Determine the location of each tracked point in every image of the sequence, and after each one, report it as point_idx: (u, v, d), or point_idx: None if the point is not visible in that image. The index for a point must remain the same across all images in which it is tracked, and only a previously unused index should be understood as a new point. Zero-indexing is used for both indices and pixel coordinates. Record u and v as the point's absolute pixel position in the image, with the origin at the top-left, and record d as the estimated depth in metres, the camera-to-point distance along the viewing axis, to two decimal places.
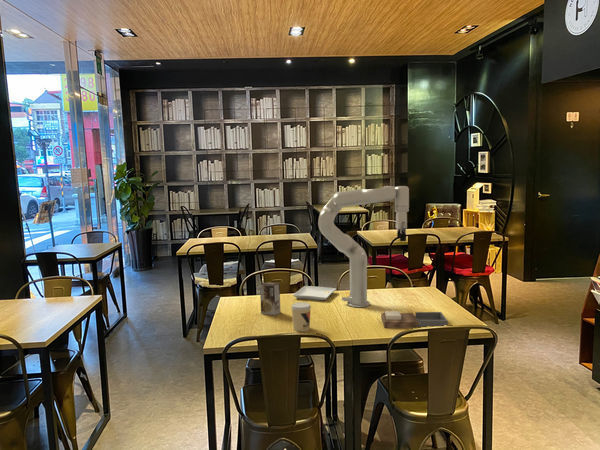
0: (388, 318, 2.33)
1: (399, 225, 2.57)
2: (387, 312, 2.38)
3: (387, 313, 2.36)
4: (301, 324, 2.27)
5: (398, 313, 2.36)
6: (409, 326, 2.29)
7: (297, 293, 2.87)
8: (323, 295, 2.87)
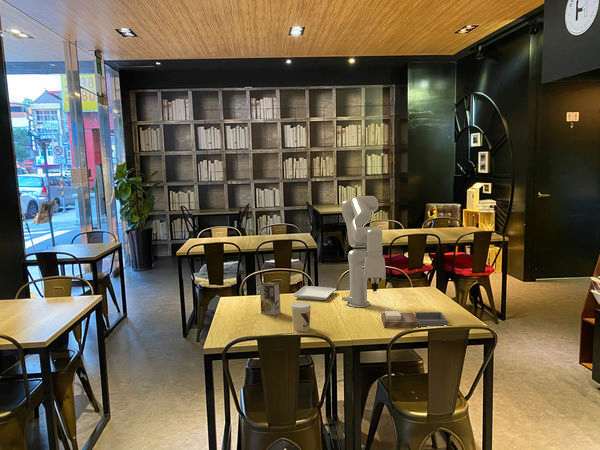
0: (388, 318, 2.33)
1: (385, 272, 2.31)
2: (387, 312, 2.38)
3: (387, 313, 2.36)
4: (301, 324, 2.27)
5: (398, 313, 2.36)
6: (409, 326, 2.29)
7: (297, 293, 2.87)
8: (323, 295, 2.87)
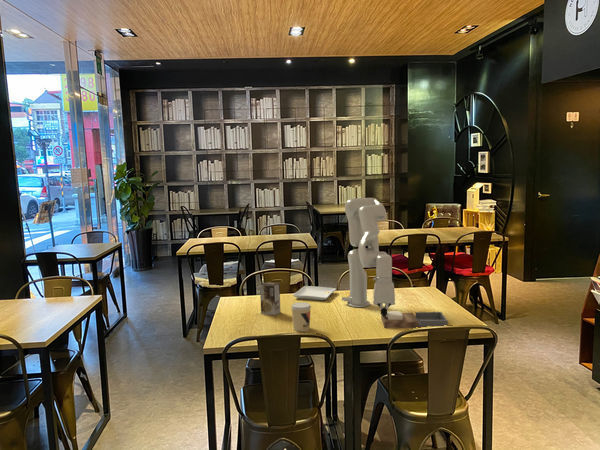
0: (390, 318, 2.33)
1: (394, 297, 2.33)
2: (388, 312, 2.37)
3: (388, 313, 2.36)
4: (301, 324, 2.27)
5: (399, 312, 2.36)
6: (409, 326, 2.29)
7: (297, 293, 2.87)
8: (323, 295, 2.87)
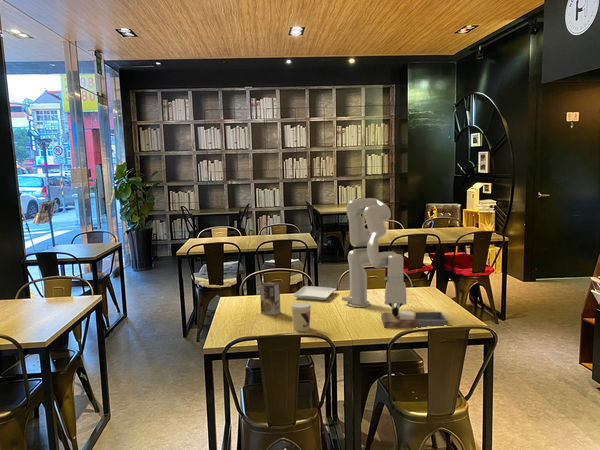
0: (401, 318, 2.32)
1: None
2: (400, 312, 2.37)
3: (400, 313, 2.35)
4: (301, 324, 2.27)
5: (411, 313, 2.36)
6: (409, 326, 2.29)
7: (297, 293, 2.87)
8: (323, 295, 2.87)
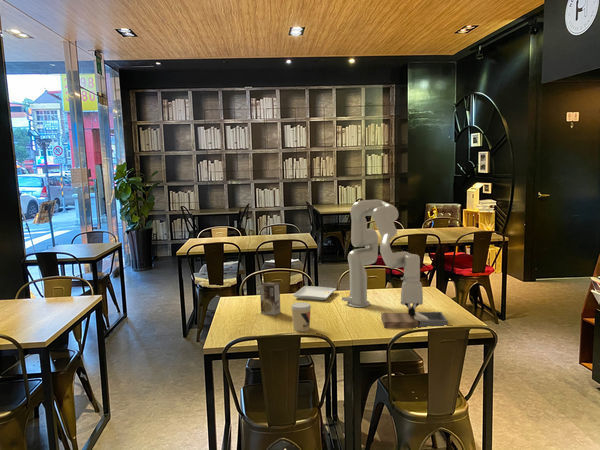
0: (417, 318, 2.31)
1: (422, 297, 2.32)
2: (416, 313, 2.36)
3: (416, 313, 2.34)
4: (301, 324, 2.27)
5: (426, 318, 2.35)
6: (409, 326, 2.29)
7: (297, 293, 2.87)
8: (323, 295, 2.87)
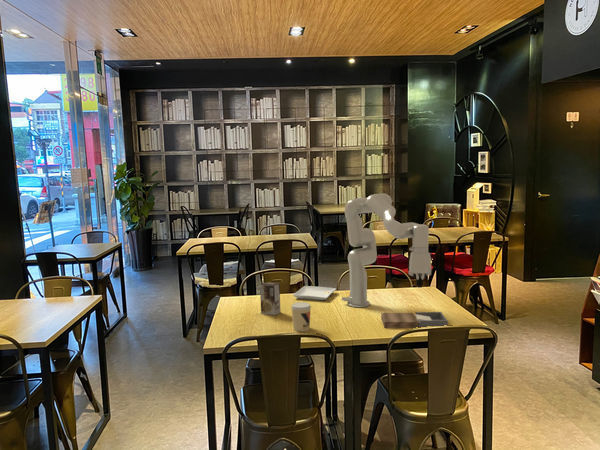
0: (419, 321, 2.31)
1: None
2: (418, 315, 2.36)
3: (418, 316, 2.35)
4: (301, 324, 2.27)
5: (429, 318, 2.35)
6: (409, 326, 2.29)
7: (297, 293, 2.87)
8: (323, 295, 2.87)
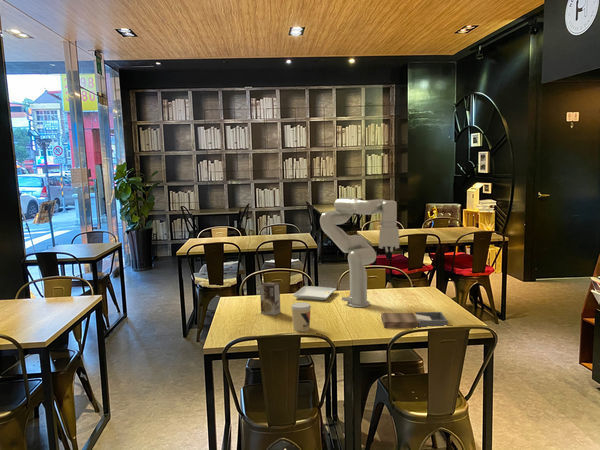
0: (419, 321, 2.31)
1: None
2: (418, 315, 2.36)
3: (418, 316, 2.35)
4: (301, 324, 2.27)
5: (429, 318, 2.35)
6: (409, 326, 2.29)
7: (297, 293, 2.87)
8: (323, 295, 2.87)
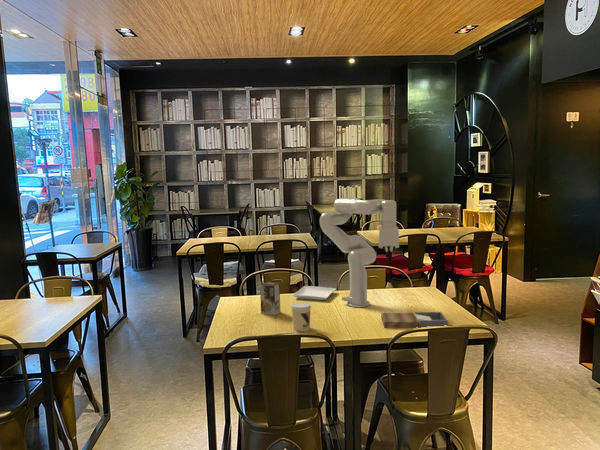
0: (419, 321, 2.31)
1: (398, 240, 2.46)
2: (418, 315, 2.36)
3: (418, 316, 2.35)
4: (301, 324, 2.27)
5: (429, 318, 2.35)
6: (409, 326, 2.29)
7: (297, 293, 2.87)
8: (323, 295, 2.87)
